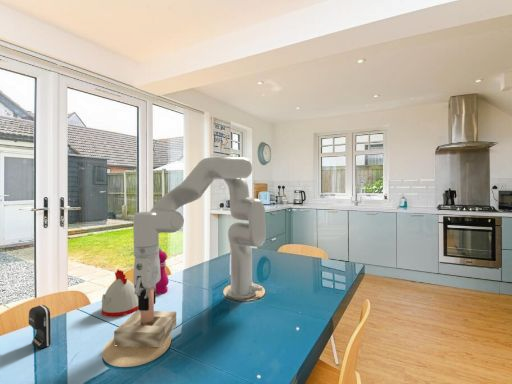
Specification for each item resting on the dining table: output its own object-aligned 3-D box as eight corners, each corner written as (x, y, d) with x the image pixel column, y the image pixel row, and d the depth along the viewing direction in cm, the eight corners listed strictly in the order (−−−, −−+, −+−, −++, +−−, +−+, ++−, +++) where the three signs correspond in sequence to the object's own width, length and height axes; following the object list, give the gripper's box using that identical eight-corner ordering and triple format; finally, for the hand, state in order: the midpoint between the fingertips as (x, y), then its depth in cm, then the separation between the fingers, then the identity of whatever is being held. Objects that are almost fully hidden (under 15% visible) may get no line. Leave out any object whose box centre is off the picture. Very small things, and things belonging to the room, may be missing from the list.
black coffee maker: (27, 344, 86) (26, 307, 86) (42, 338, 89) (42, 302, 89) (36, 352, 82) (35, 313, 82) (51, 345, 85) (50, 308, 85)
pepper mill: (163, 295, 124) (163, 250, 123) (148, 294, 125) (148, 249, 125) (171, 289, 131) (171, 246, 130) (157, 288, 132) (156, 245, 132)
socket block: (176, 324, 98) (176, 311, 98) (159, 347, 84) (159, 332, 84) (137, 323, 99) (137, 310, 99) (114, 346, 85) (114, 331, 85)
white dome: (130, 298, 120) (129, 263, 120) (147, 307, 112) (146, 269, 111) (95, 310, 110) (94, 271, 109) (111, 320, 101) (110, 279, 100)
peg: (155, 316, 93) (155, 280, 93) (150, 322, 89) (150, 285, 89) (144, 316, 93) (143, 280, 93) (138, 322, 89) (137, 284, 89)
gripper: (145, 257, 82) (146, 319, 82) (167, 245, 99) (168, 297, 99) (120, 256, 82) (121, 318, 83) (147, 244, 99) (147, 296, 100)
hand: (147, 306), depth 91 cm, fingers closed on peg, 4 cm apart
